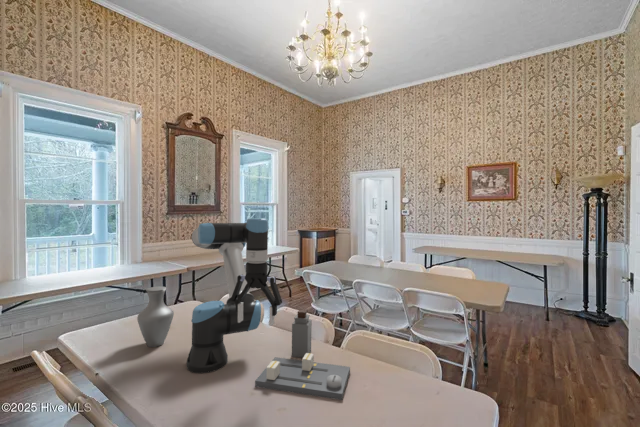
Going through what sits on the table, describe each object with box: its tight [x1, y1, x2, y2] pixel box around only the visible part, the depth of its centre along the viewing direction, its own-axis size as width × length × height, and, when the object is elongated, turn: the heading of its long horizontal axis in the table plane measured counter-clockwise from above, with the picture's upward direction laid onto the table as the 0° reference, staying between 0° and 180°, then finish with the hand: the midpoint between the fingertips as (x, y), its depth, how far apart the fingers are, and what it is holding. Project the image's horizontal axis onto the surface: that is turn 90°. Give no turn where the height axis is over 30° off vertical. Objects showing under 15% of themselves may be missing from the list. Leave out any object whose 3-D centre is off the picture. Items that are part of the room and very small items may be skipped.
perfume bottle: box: [291, 309, 313, 359], centre depth 130 cm, size 7×7×18 cm
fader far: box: [301, 352, 315, 371], centre depth 114 cm, size 3×5×4 cm, turn 166°
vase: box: [136, 285, 175, 348], centre depth 138 cm, size 14×14×25 cm
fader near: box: [266, 360, 280, 380], centre depth 108 cm, size 3×5×4 cm, turn 167°
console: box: [254, 357, 351, 401], centre depth 110 cm, size 30×18×4 cm, turn 76°
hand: (255, 322), depth 109 cm, fingers open, 11 cm apart
